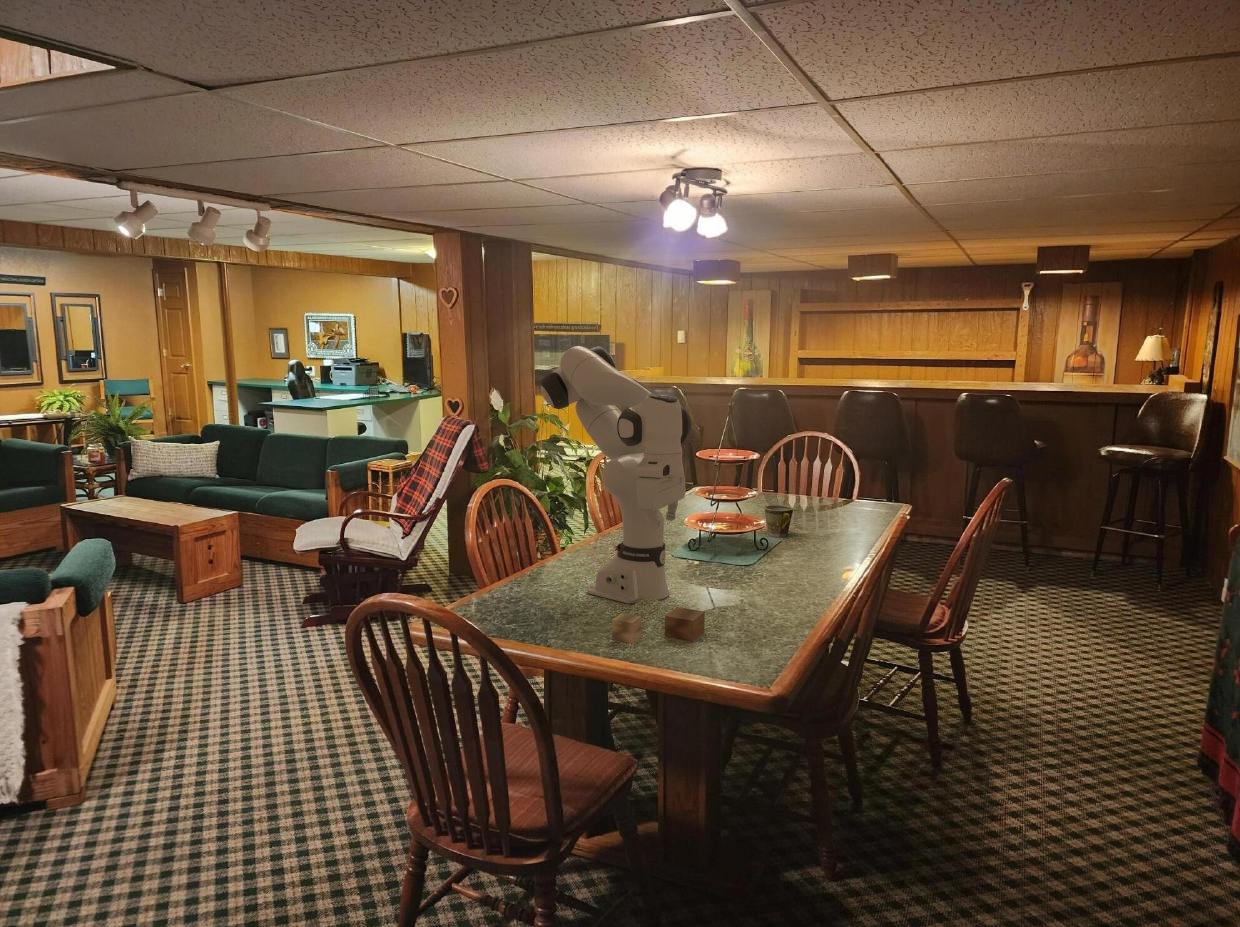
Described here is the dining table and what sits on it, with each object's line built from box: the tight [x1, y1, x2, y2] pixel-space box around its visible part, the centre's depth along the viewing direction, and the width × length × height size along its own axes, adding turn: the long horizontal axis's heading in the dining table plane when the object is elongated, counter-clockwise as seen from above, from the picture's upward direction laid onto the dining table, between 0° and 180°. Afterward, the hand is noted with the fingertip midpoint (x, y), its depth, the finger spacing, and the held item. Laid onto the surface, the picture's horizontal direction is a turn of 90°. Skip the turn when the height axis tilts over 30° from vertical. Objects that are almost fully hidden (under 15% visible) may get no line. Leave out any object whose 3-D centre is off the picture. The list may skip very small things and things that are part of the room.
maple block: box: [611, 612, 642, 644], centre depth 183 cm, size 5×5×6 cm
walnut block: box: [664, 606, 706, 643], centre depth 185 cm, size 7×7×5 cm
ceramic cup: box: [764, 504, 794, 538], centre depth 284 cm, size 13×10×10 cm
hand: (663, 524), depth 185 cm, fingers open, 8 cm apart
